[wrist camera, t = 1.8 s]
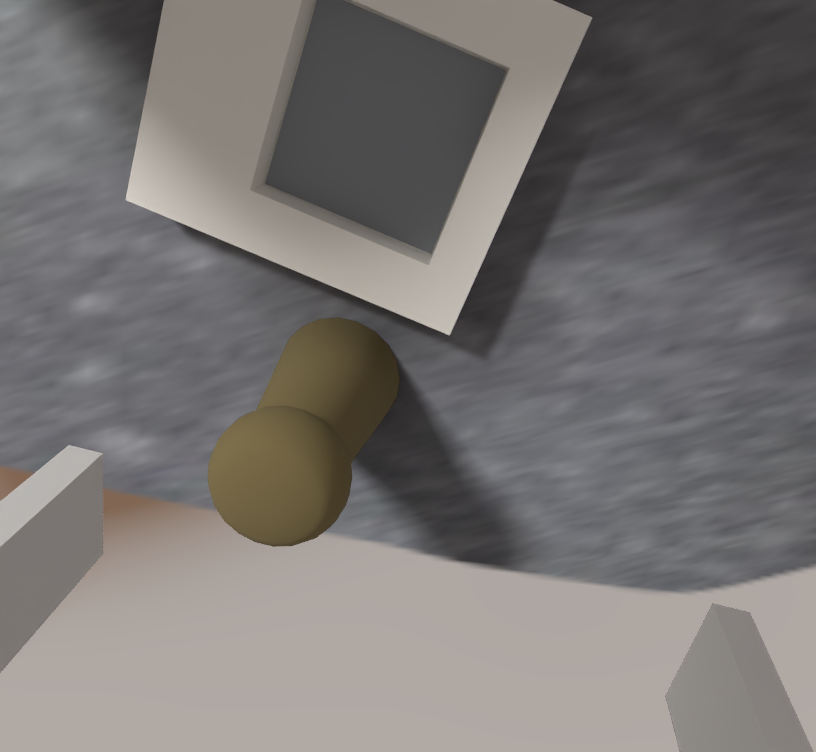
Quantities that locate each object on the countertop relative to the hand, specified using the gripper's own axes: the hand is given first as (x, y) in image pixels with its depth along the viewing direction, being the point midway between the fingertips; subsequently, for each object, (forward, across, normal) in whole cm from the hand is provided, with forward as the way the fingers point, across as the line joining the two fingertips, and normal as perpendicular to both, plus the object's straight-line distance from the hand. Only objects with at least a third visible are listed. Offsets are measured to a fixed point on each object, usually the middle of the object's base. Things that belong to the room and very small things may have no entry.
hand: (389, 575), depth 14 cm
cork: (+18, -5, -4) cm, 19 cm away
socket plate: (+18, -6, +7) cm, 20 cm away
